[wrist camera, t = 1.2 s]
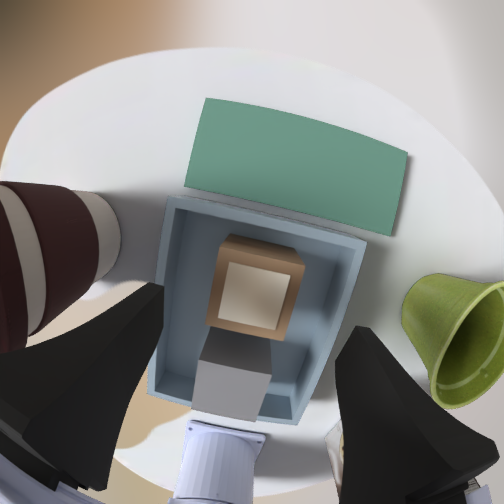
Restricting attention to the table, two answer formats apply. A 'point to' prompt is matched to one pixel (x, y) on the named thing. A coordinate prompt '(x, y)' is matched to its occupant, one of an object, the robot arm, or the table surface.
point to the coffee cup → (49, 254)
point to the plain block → (232, 374)
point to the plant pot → (457, 335)
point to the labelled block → (254, 287)
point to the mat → (296, 164)
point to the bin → (199, 288)
